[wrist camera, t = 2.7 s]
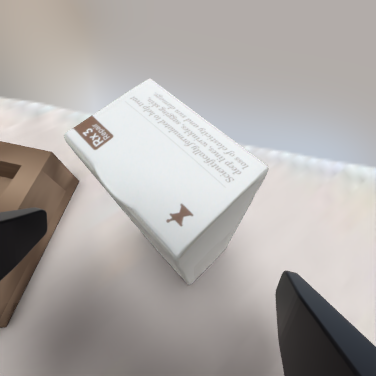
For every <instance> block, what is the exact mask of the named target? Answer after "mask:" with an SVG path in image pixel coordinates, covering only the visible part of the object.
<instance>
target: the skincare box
mask: <svg viewBox="0 0 376 376" xmlns="http://www.w3.org/2000/svg"><path fill="white" fill-rule="evenodd" d="M64 138H65V140H66V142H67V143H68V145H69V146H70V147H71V148H72V150H73V151H74V152H75V153H76V155H77V156H78V157H79V158H80V160H81V161H82V162H83V163H84V164H85V166H86V167H87V168H88V169H89V170H90V171H91V173H92V174H93V175H94V176H95V177H96V179H97V180H98V181H99V182H100V183H101V185H102V186H103V187H104V188H105V189H106V191H107V192H108V193H109V194H110V195H111V197H112V198H113V199H114V200H115V201H116V203H117V204H118V205H119V206H120V207H121V208H122V210H123V211H124V212H125V213H126V214H127V215H128V217H129V218H130V219H131V220H132V221H133V222H134V224H135V225H136V226H137V227H138V228H139V229H140V231H141V232H142V233H143V234H144V235H145V237H146V238H147V239H148V240H149V241H150V243H151V244H152V245H153V246H154V247H155V248H156V250H157V251H158V252H159V253H160V254H161V255H162V256H163V258H164V259H165V260H166V261H167V262H168V263H169V264H170V265H171V266H172V268H173V269H174V270H175V271H176V272H177V273H178V274H179V275H180V276H181V277H182V278H183V280H184V281H185V282H186V283H187V284H188V285H191V284H192V283H193V282H194V281H195V280H196V279H197V278H198V277H199V276H200V275H201V274H202V273H203V272H204V271H205V270H206V269H207V268H208V267H209V266H210V265H211V264H212V263H213V262H214V261H215V260H216V259H217V258H218V257H219V255H220V254H221V253H222V252H223V251H224V250H225V249H226V248H227V245H228V243H229V241H230V240H231V238H232V236H233V234H234V233H235V231H236V229H237V227H238V225H239V224H240V222H241V220H242V218H243V216H244V215H245V213H246V211H247V209H248V207H249V206H250V204H251V202H252V200H253V197H254V195H255V193H256V192H257V190H258V189H259V187H260V186H261V184H262V182H263V180H264V178H265V176H266V174H267V172H268V166H267V165H266V164H265V163H264V162H262V161H261V160H260V159H258V158H257V157H255V156H254V155H253V154H251V153H250V152H249V151H247V150H246V149H244V148H243V147H242V146H240V145H239V144H238V143H236V142H235V141H234V140H232V139H230V138H229V137H228V136H226V135H225V134H224V133H223V132H221V131H220V130H219V129H217V128H216V127H215V126H213V125H212V124H211V123H209V122H208V121H207V120H205V119H204V118H202V117H201V116H200V115H198V114H197V113H196V112H194V111H193V110H191V109H190V108H189V107H188V106H187V105H185V104H184V103H182V102H181V101H180V100H178V99H177V98H176V97H174V96H173V95H172V94H170V93H169V92H168V91H167V90H165V89H164V88H163V87H161V86H160V85H158V84H157V83H156V82H155V81H153V80H152V79H148V80H146V81H144V82H143V83H141V84H140V85H138V86H136V87H134V88H133V89H131V90H130V91H128V92H127V93H125V94H124V95H122V96H121V97H119V98H118V99H116V100H115V101H113V102H112V103H110V104H109V105H107V106H106V107H104V108H103V109H101V110H99V111H98V112H97V113H95V114H94V115H92V116H91V117H89V118H88V119H86V120H85V121H83V122H82V123H80V124H79V125H77V126H76V127H74V128H72V129H71V130H69V131H67V132H66V133H65V134H64Z"/></svg>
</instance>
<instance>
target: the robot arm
mask: <svg viewBox="0 0 376 376" xmlns="http://www.w3.org/2000/svg"><path fill="white" fill-rule="evenodd" d="M47 229H48V225H47V212H46V211H45V210H44V209H40V208H36V207H33V208H26V209H19V210H12V211H6V212H0V281H1V280H2V279H3V278H4V277H5V276H6V275H8V274H9V273H10V272H11V271H12V270H13V269H14V268H15V267H16V266H17V265H18V264H19V263H20V262H21V261H22V260H23V259H24V258H25V256H26V255H27V254H28V253H29V252H30V251H31V250H32V249H33V248H34V247H35V245H36V244H37V243H38V242H39V241H40V240H41V239H42V238H43V237H44V236H45V234H46V233H47ZM276 311H277V326H278V339H279V346H280V352H281V358H282V364H283V369H284V375H285V376H376V347H375V346H374V345H373V344H372V343H371V342H370V341H369V340H368V339H367V338H366V337H365V336H364V335H363V334H361V333H360V332H359V331H358V330H357V329H356V328H355V327H354V326H353V325H352V324H351V323H350V322H349V321H348V320H347V319H345V318H344V317H343V316H342V315H341V314H340V313H339V312H338V311H337V310H336V309H335V308H334V307H333V306H332V305H330V304H329V303H328V302H327V301H326V300H325V299H324V298H323V297H322V296H321V295H320V294H319V293H318V292H317V291H315V290H314V289H313V288H312V287H311V286H310V285H309V284H308V283H307V282H306V281H305V280H304V279H303V278H302V277H300V276H299V275H298V274H297V273H294V272H290V271H284V272H283V273H282V276H281V278H280V281H279V284H278V286H277V289H276Z"/></svg>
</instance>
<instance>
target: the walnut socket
mask: <svg viewBox="0 0 376 376" xmlns="http://www.w3.org/2000/svg"><path fill="white" fill-rule="evenodd" d="M78 182H79V180H78V179H77V178H76V177H75V176H74V175H73V174H72V173H71V172H70V171H69V170H68V169H67V168H66V167H65V166H64V164H63V163H62V162H61V161H60V160H59V159H58V158H57V157H56V156H55V155H54V154H53V153H52V152H49V151H45V150H40V149H35V148H30V147H25V146H21V145H16V144H11V143H6V142H1V141H0V212H6V211H12V210H19V209H26V208H33V207H36V208H40V209H44V210H45V211H46V212H47V225H48V229H47V233H46V234H45V236H44V237H43V238H42V239H41V240H40V241H39V242H38V243H37V244H36V245H35V247H34V248H33V249H32V250H31V251H30V252H29V253H28V254H27V255H26V256H25V258H24V259H23V260H22V261H21V262H20V263H19V264H18V265H17V266H16V267H15V268H14V269H13V270H12V271H11V272H10V273H9V274H8V275H6V276H5V277H4V278H3V279H2V280H1V281H0V328H3V327H6V326H7V324H8V322H9V320H10V318H11V316H12V314H13V312H14V310H15V308H16V306H17V304H18V302H19V300H20V298H21V296H22V294H23V292H24V290H25V288H26V286H27V284H28V282H29V280H30V278H31V276H32V274H33V272H34V270H35V268H36V266H37V264H38V262H39V260H40V258H41V256H42V254H43V252H44V250H45V248H46V246H47V244H48V242H49V240H50V238H51V236H52V234H53V232H54V230H55V228H56V226H57V224H58V222H59V220H60V218H61V216H62V214H63V212H64V210H65V208H66V206H67V204H68V202H69V200H70V198H71V196H72V194H73V192H74V190H75V188H76V186H77V184H78Z"/></svg>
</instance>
